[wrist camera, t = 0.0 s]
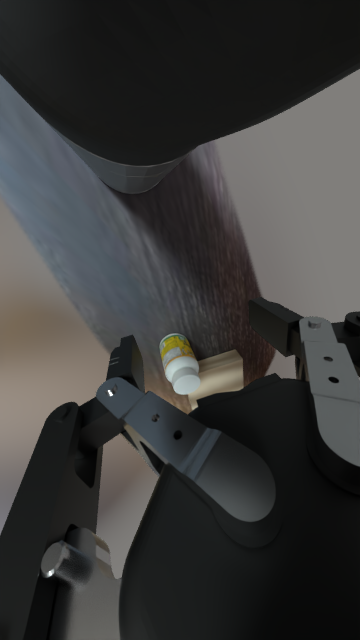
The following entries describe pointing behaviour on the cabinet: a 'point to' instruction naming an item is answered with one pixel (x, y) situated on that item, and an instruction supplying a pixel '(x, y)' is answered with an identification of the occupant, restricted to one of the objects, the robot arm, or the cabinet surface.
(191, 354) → the supplement bottle
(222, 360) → the birch base
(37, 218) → the cabinet surface
